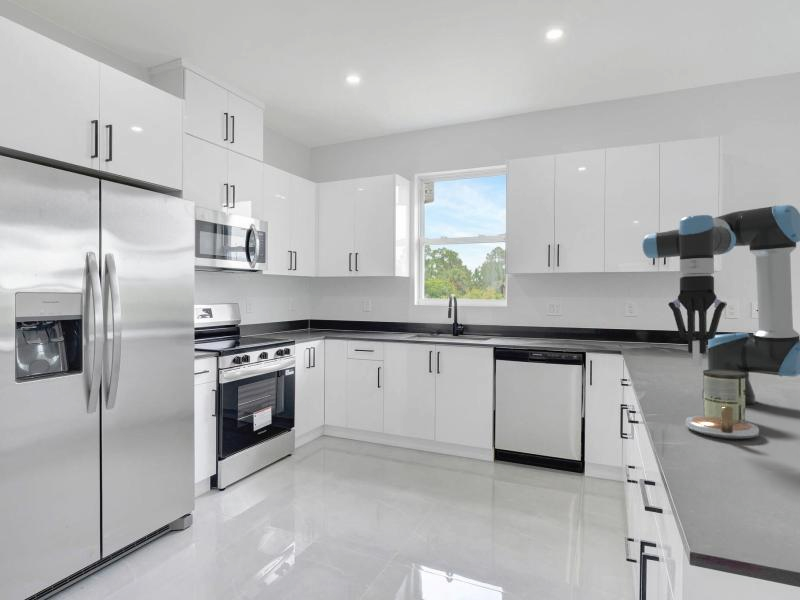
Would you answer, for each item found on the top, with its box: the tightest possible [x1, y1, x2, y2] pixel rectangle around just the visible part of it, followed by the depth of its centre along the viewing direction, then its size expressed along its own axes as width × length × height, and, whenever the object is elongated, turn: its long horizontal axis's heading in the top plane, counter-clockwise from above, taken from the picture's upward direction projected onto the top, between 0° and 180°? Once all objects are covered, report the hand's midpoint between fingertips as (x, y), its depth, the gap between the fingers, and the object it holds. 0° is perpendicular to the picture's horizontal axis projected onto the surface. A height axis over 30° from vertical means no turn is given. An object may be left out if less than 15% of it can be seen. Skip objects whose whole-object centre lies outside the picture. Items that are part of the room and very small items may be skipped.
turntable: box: [685, 406, 760, 439], centre depth 123 cm, size 17×16×8 cm
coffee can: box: [702, 369, 746, 421], centre depth 136 cm, size 10×10×14 cm
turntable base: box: [698, 432, 748, 441], centre depth 123 cm, size 12×12×1 cm
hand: (697, 365), depth 121 cm, fingers closed
